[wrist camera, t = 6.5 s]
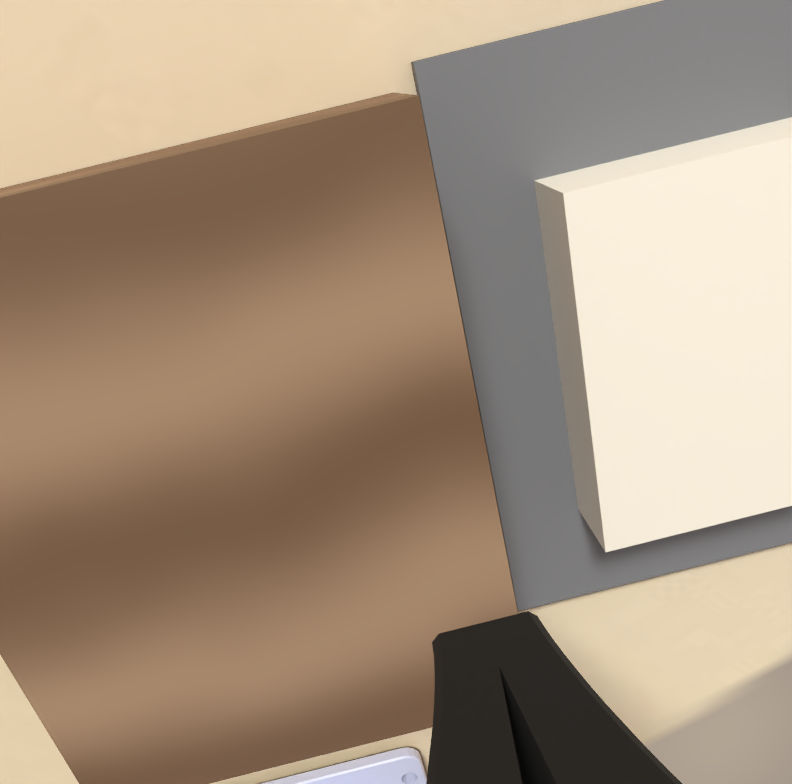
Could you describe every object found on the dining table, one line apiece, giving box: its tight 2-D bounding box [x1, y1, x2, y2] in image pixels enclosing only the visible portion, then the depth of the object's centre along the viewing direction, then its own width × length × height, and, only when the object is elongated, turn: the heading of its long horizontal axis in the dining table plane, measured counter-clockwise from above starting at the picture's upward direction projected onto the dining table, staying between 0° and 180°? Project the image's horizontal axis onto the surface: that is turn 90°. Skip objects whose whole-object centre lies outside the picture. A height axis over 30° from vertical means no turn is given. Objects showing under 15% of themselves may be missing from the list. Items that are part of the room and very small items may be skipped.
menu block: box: [534, 117, 792, 552], centre depth 17 cm, size 9×6×2 cm, turn 13°
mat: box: [411, 0, 792, 611], centre depth 18 cm, size 15×10×1 cm, turn 13°
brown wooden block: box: [0, 93, 518, 784], centre depth 16 cm, size 14×11×4 cm
